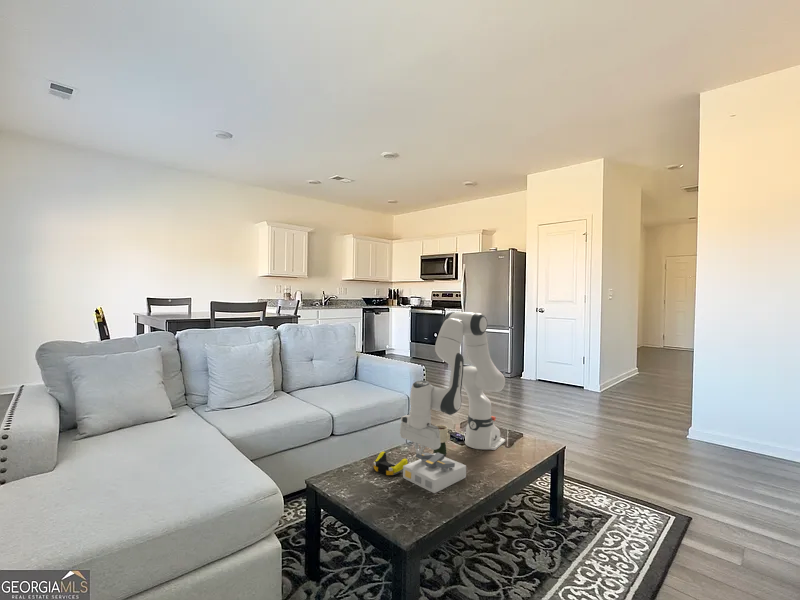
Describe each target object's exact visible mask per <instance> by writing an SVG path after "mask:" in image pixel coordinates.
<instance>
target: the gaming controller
mask: <svg viewBox="0 0 800 600" xmlns="http://www.w3.org/2000/svg"><path fill="white" fill-rule="evenodd" d="M372 464H373V469H374V470H375V472H378V473H381V474H384V475H385V476H395V475H398V474H400V473H401V472H403V466H404V465H407V464H409V462H408V459H407V458H402V459H401V460H400V461H399V462H398V463H397V464H394V463H390V462H388V460H387V453H386V451H380V452H379V454H378V456H377V458H376V459H375V460H374V461H373V463H372Z"/></svg>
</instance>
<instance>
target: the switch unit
mask: <svg viewBox="0 0 800 600" xmlns="http://www.w3.org/2000/svg"><path fill="white" fill-rule="evenodd" d="M432 454H433V455H435V454H436V453H432ZM427 460H429V459H419V458H418V459H417V460H415V461H412V462H408V464H407V465H404V466H403V471H402V478H403V479H405V480H406V481H408V482H410V483H412V484H415V485H417V486H419V487H420V488H423V489H425V490H426V491H429V492H430V493H432V494H436V493H438V492H440V491H442V490H445V489H446V488H448V487H450V486H451V485H454V484H455V483H458V482H460V481H461V480H463V479H465V478H467V465H466V464H463V463H462V462H460V461H457V460H454V459H451V458H448V457H447V456H444V459H443V460H442V461H450V462H453V463H455V467H453V468H441V467H438V466H434V467H433V468H431V467H428V466H426V463H425V462H426V461H427Z"/></svg>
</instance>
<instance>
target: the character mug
mask: <svg viewBox="0 0 800 600" xmlns="http://www.w3.org/2000/svg"><path fill="white" fill-rule="evenodd" d="M434 425H435V424H434ZM435 426H437V428H438V429H439V430H440V441H441V446H440V448H439V449H436V450H433V453H432V454H434V453H441V454H443V455H444V456H446V455H447V445H446V442H449V441H451V434H450V433H449V427H448V426H447V425H443V424H436V425H435Z"/></svg>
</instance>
